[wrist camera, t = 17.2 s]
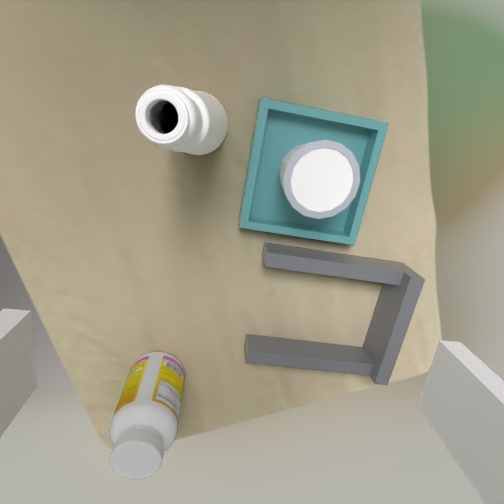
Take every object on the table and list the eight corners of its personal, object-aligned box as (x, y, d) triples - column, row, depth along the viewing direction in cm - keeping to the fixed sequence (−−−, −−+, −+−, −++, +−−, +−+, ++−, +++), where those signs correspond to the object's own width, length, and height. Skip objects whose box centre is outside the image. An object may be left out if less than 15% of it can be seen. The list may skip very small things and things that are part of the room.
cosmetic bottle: (229, 153, 37) (238, 184, 16) (170, 156, 37) (102, 193, 16) (225, 89, 35) (227, 31, 14) (162, 92, 35) (72, 38, 14)
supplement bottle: (131, 392, 46) (97, 487, 34) (131, 347, 44) (96, 432, 31) (184, 394, 46) (170, 488, 34) (187, 350, 44) (173, 434, 32)
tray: (259, 99, 36) (261, 97, 33) (378, 123, 37) (388, 123, 35) (238, 221, 39) (239, 227, 37) (346, 238, 41) (354, 245, 39)
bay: (244, 345, 45) (246, 370, 40) (264, 242, 40) (269, 257, 36) (370, 359, 47) (387, 385, 42) (402, 262, 43) (424, 279, 38)
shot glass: (259, 170, 37) (267, 179, 31) (309, 122, 36) (328, 121, 30) (301, 216, 39) (317, 234, 33) (349, 172, 38) (376, 182, 32)
